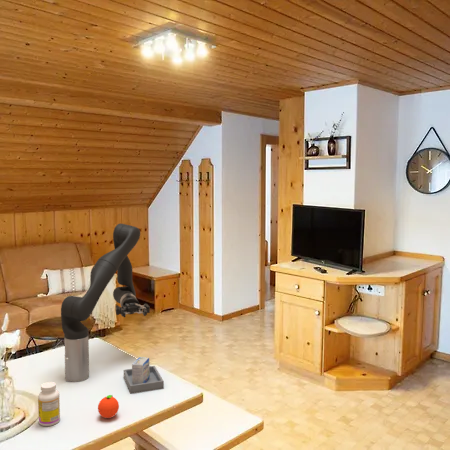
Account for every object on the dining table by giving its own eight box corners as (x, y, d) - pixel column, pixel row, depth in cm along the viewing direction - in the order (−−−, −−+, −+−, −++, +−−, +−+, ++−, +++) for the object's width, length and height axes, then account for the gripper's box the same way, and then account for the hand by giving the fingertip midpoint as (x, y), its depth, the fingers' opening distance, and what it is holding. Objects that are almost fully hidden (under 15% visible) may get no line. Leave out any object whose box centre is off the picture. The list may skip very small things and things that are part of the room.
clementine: (102, 409, 165) (102, 390, 164) (122, 410, 164) (122, 391, 163) (95, 421, 157) (94, 401, 156) (115, 422, 156) (115, 402, 156)
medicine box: (143, 386, 182) (142, 365, 181) (132, 385, 182) (131, 364, 181) (149, 378, 189) (149, 357, 188) (139, 377, 190) (139, 356, 189)
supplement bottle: (42, 417, 159) (41, 380, 158) (62, 416, 160) (61, 380, 159) (36, 427, 153) (34, 389, 151) (57, 426, 153) (56, 388, 152)
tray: (130, 393, 177) (130, 386, 177) (123, 377, 191) (123, 369, 191) (163, 388, 181) (163, 381, 181) (154, 372, 196) (154, 365, 196)
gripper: (113, 296, 209) (117, 306, 194) (145, 294, 214) (152, 304, 199) (113, 312, 210) (117, 324, 195) (145, 310, 215) (151, 321, 200)
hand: (135, 314), depth 197 cm, fingers open, 8 cm apart
